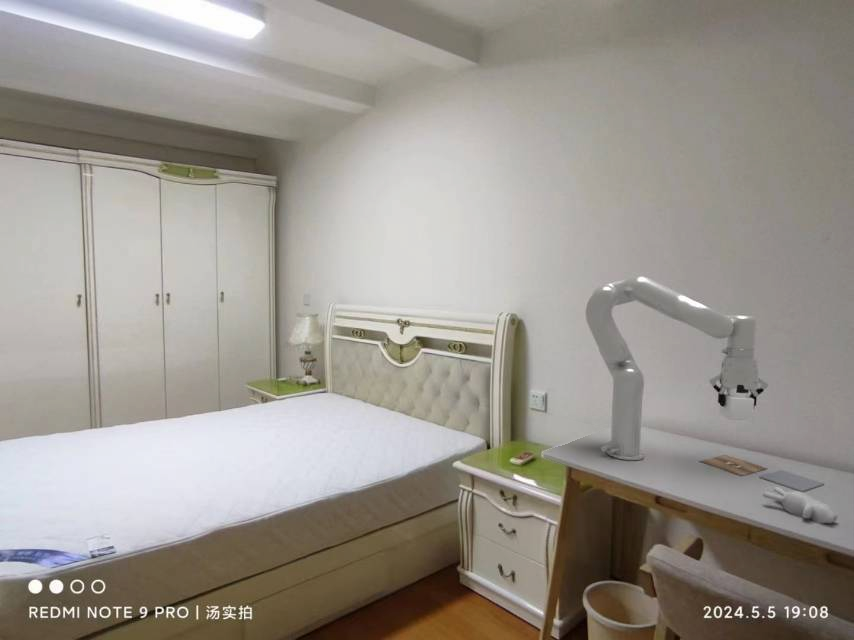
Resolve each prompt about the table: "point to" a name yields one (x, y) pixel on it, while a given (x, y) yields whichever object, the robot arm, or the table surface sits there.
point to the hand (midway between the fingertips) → (736, 406)
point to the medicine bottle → (737, 404)
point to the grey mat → (792, 480)
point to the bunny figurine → (803, 505)
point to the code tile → (733, 465)
